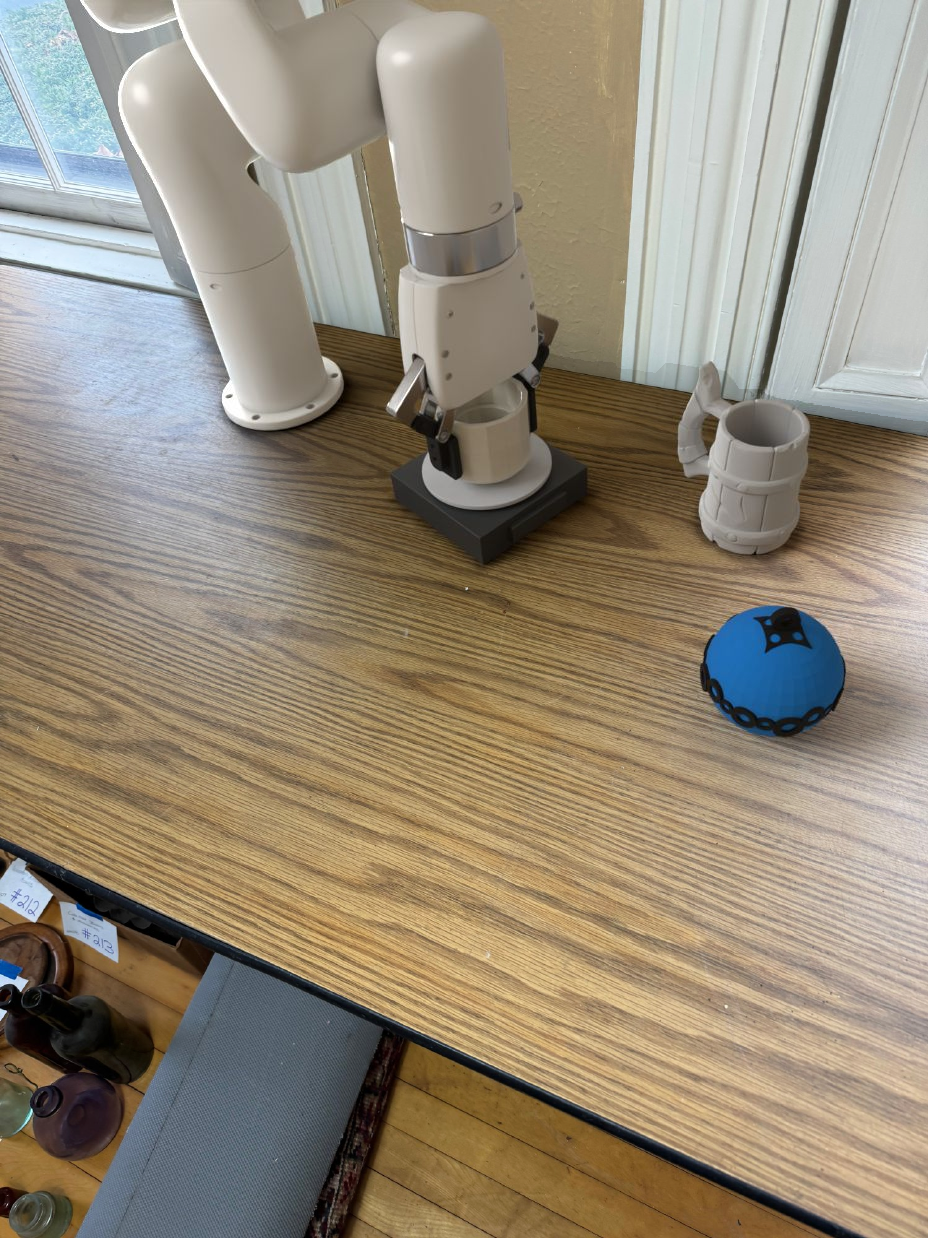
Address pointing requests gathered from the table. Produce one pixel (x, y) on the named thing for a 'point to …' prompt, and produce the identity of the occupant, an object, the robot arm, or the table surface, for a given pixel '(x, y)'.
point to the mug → (745, 466)
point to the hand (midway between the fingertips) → (485, 446)
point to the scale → (492, 499)
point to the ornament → (773, 671)
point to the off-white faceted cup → (493, 433)
